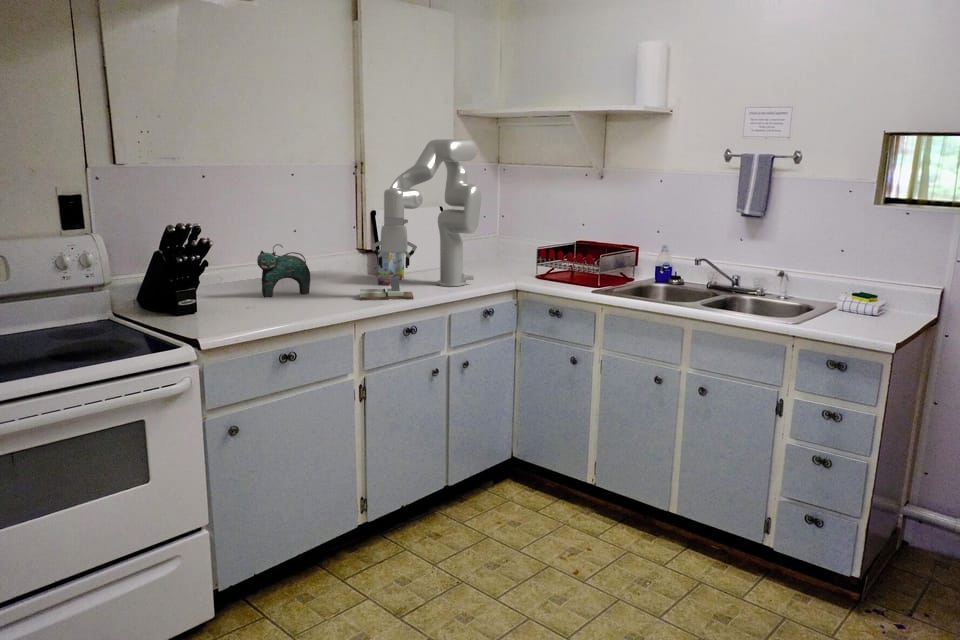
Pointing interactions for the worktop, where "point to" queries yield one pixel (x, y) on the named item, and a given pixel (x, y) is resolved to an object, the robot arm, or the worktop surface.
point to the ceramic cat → (283, 271)
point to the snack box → (390, 267)
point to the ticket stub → (395, 287)
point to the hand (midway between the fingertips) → (393, 267)
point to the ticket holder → (381, 295)
